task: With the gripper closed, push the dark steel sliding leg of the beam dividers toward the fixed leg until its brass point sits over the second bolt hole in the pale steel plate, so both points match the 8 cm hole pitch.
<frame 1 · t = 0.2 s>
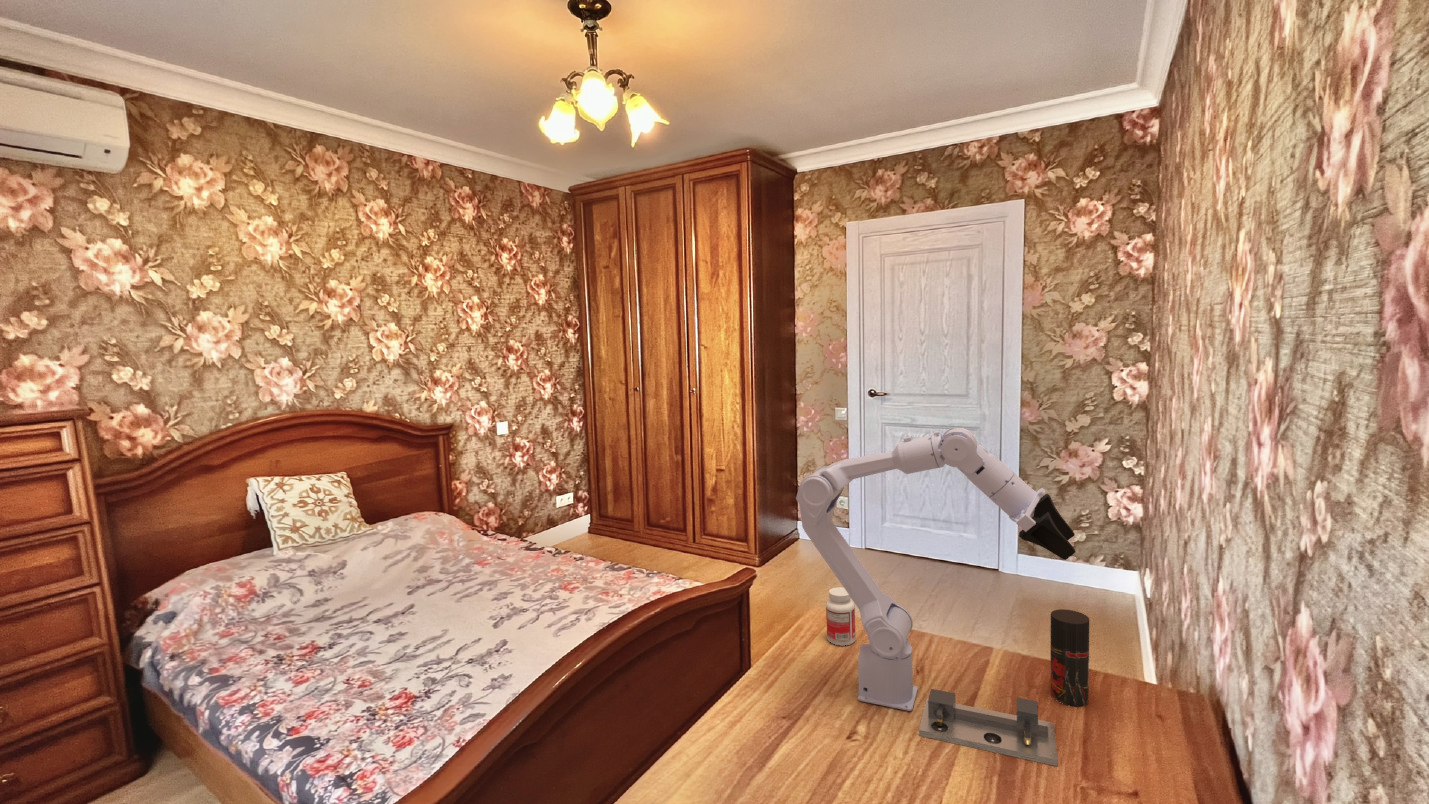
hand: (1070, 546, 98), 31 cm above the table, tool tilted 45°, fingers open, 7 cm apart
hole plate: (986, 732, 102), on the table
pill bottle: (841, 640, 136), on the table
sliding leg: (1027, 721, 99), point 3 cm above the table, slide at 0.0 cm
deodorant: (1069, 698, 111), on the table
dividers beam: (986, 728, 103), resting on hole plate
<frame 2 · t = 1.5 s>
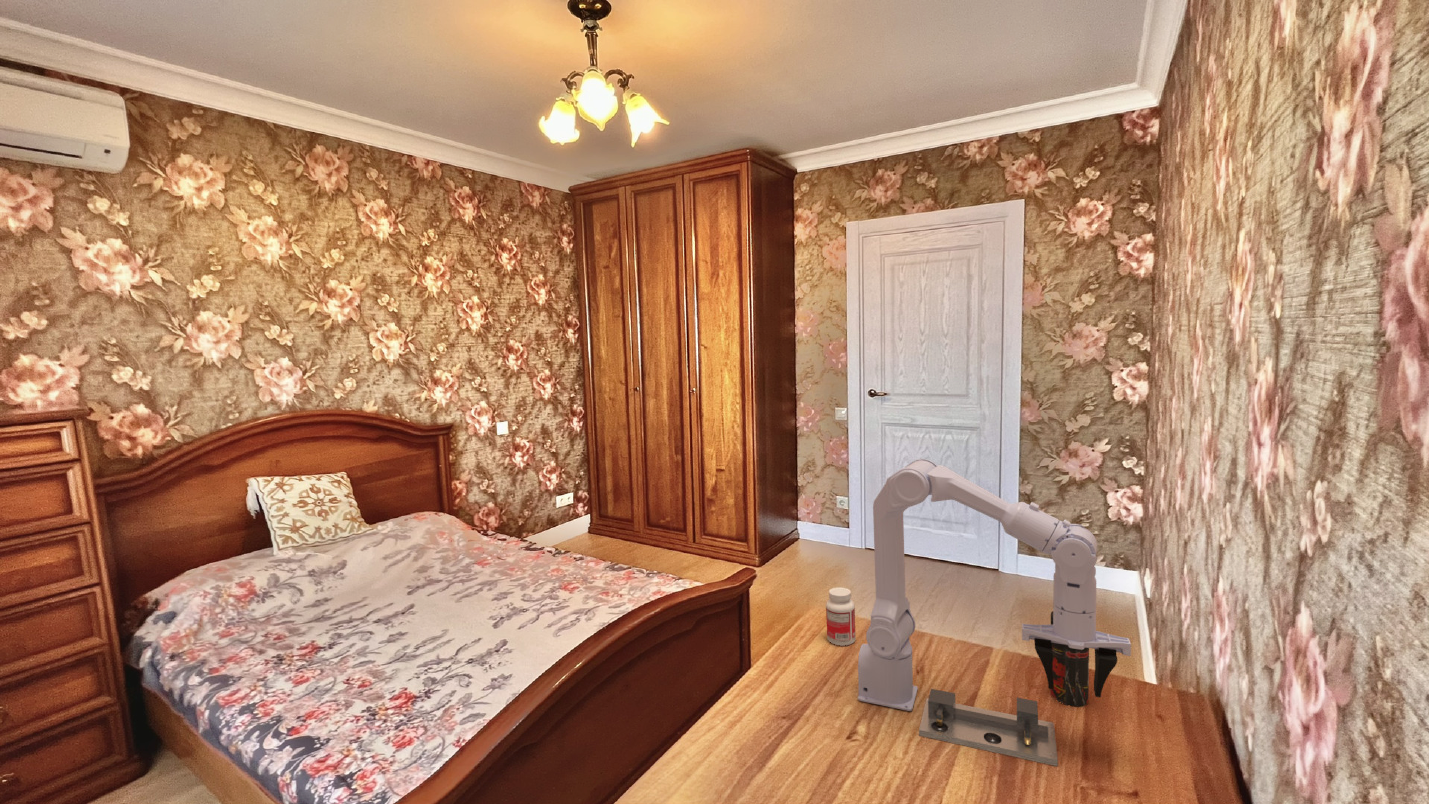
hand: (1073, 689, 97), 9 cm above the table, tool pointing down, fingers open, 6 cm apart
nothing on the table moved.
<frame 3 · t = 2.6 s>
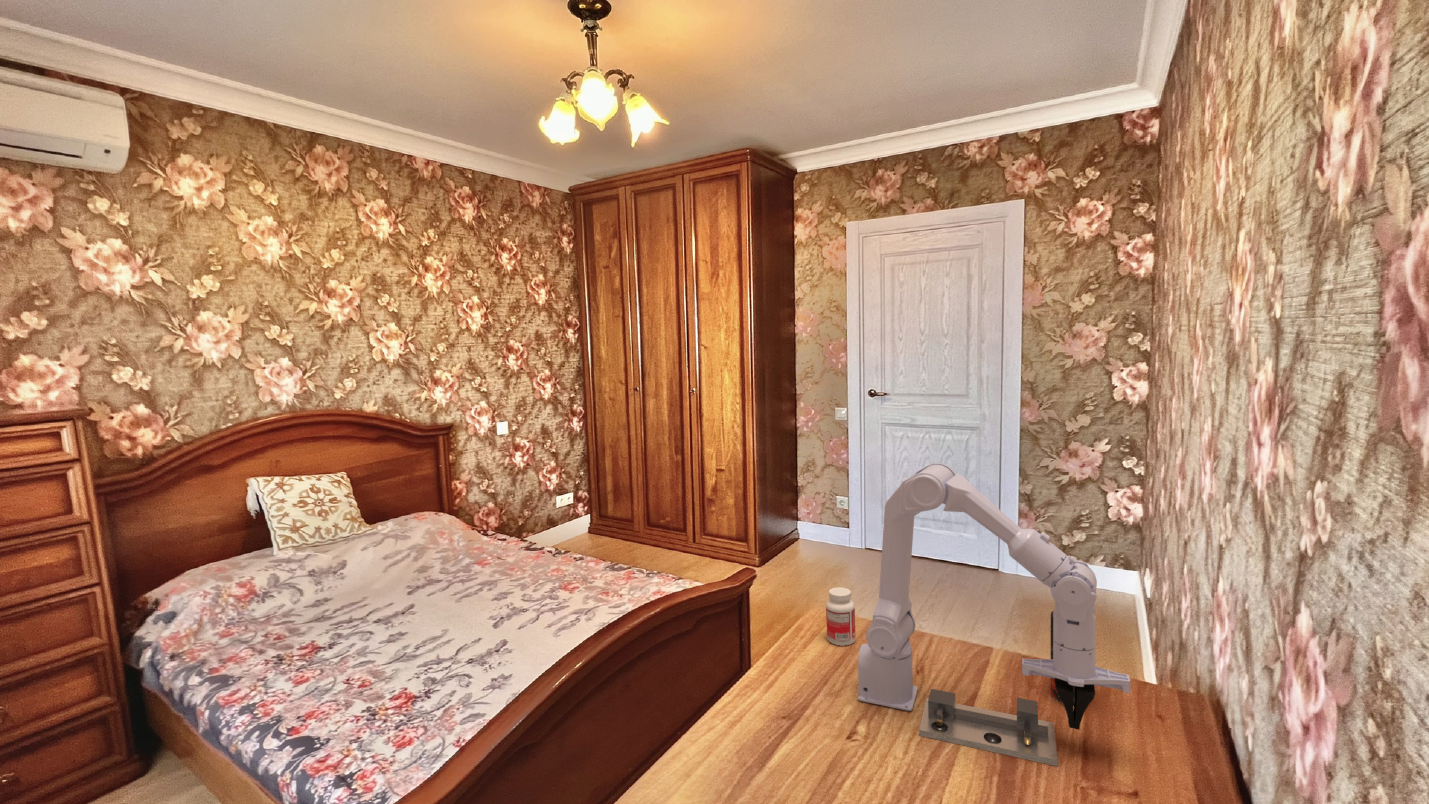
hand: (1073, 725, 97), 4 cm above the table, tool pointing down, fingers closed
nothing on the table moved.
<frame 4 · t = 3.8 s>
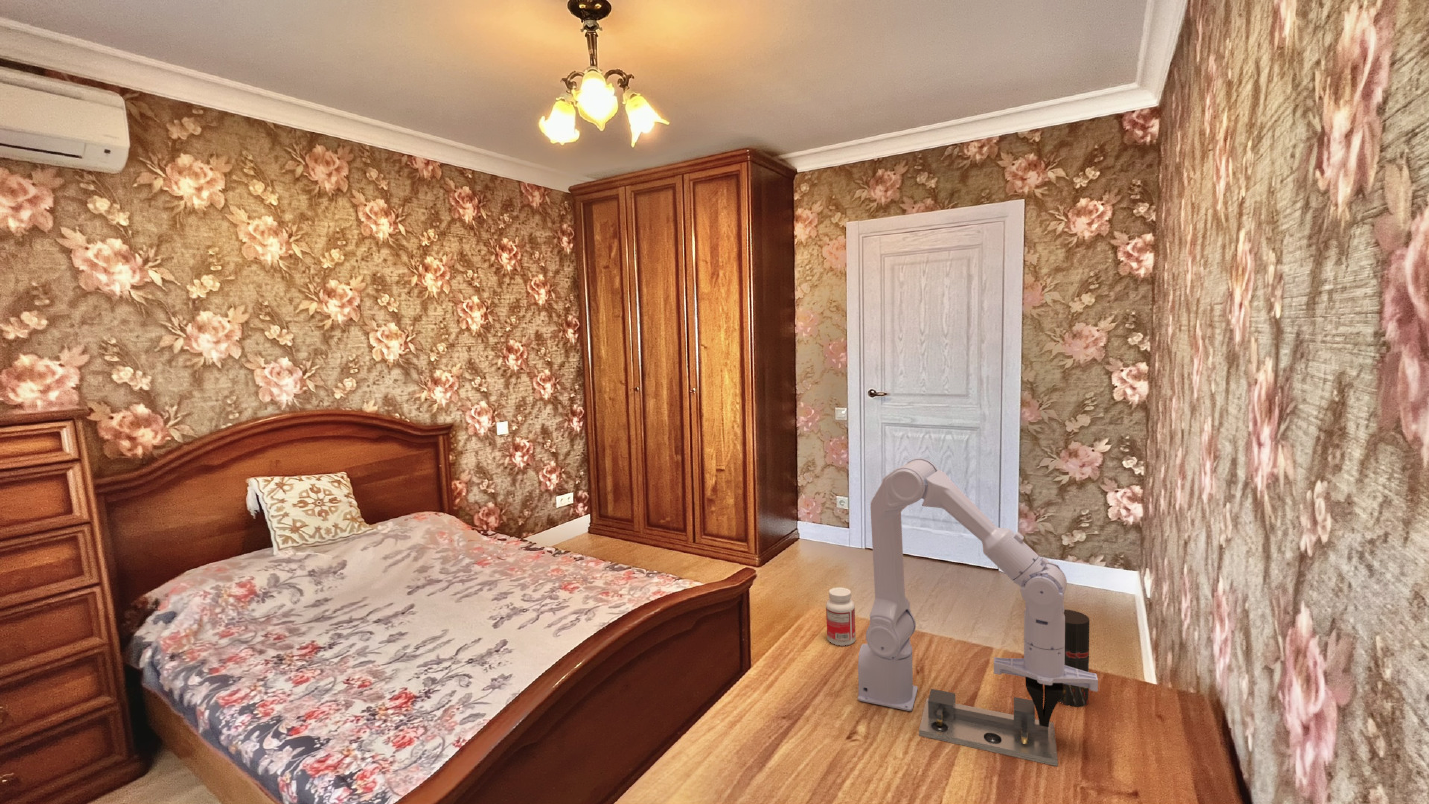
hand: (1043, 722, 99), 3 cm above the table, tool pointing down, fingers closed
sliding leg: (1024, 720, 99), point 3 cm above the table, slide at 0.5 cm, touching gripper
everything else where it was.
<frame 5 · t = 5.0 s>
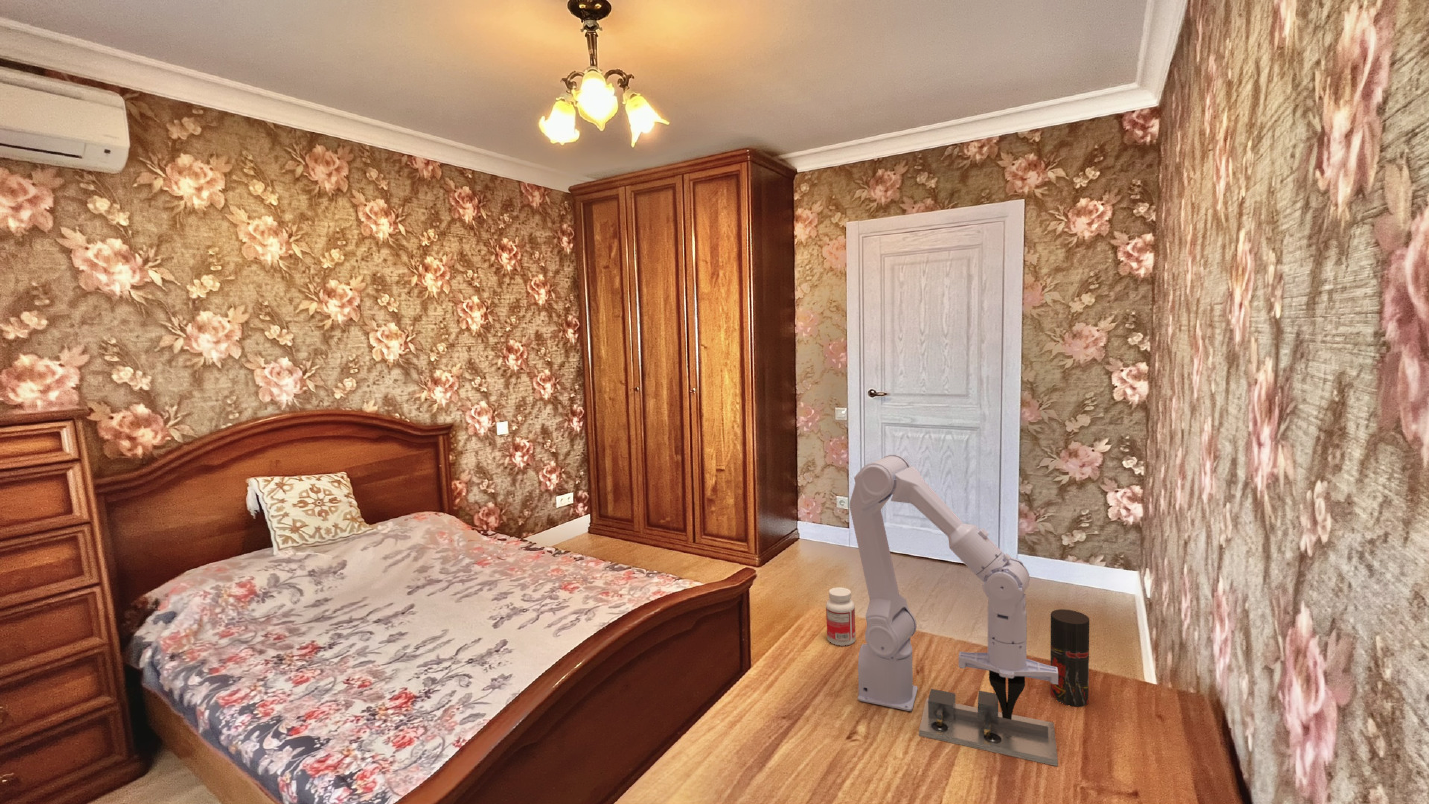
hand: (1006, 715, 102), 3 cm above the table, tool pointing down, fingers closed
sliding leg: (987, 713, 102), point 3 cm above the table, slide at 5.8 cm, touching gripper
everything else where it was.
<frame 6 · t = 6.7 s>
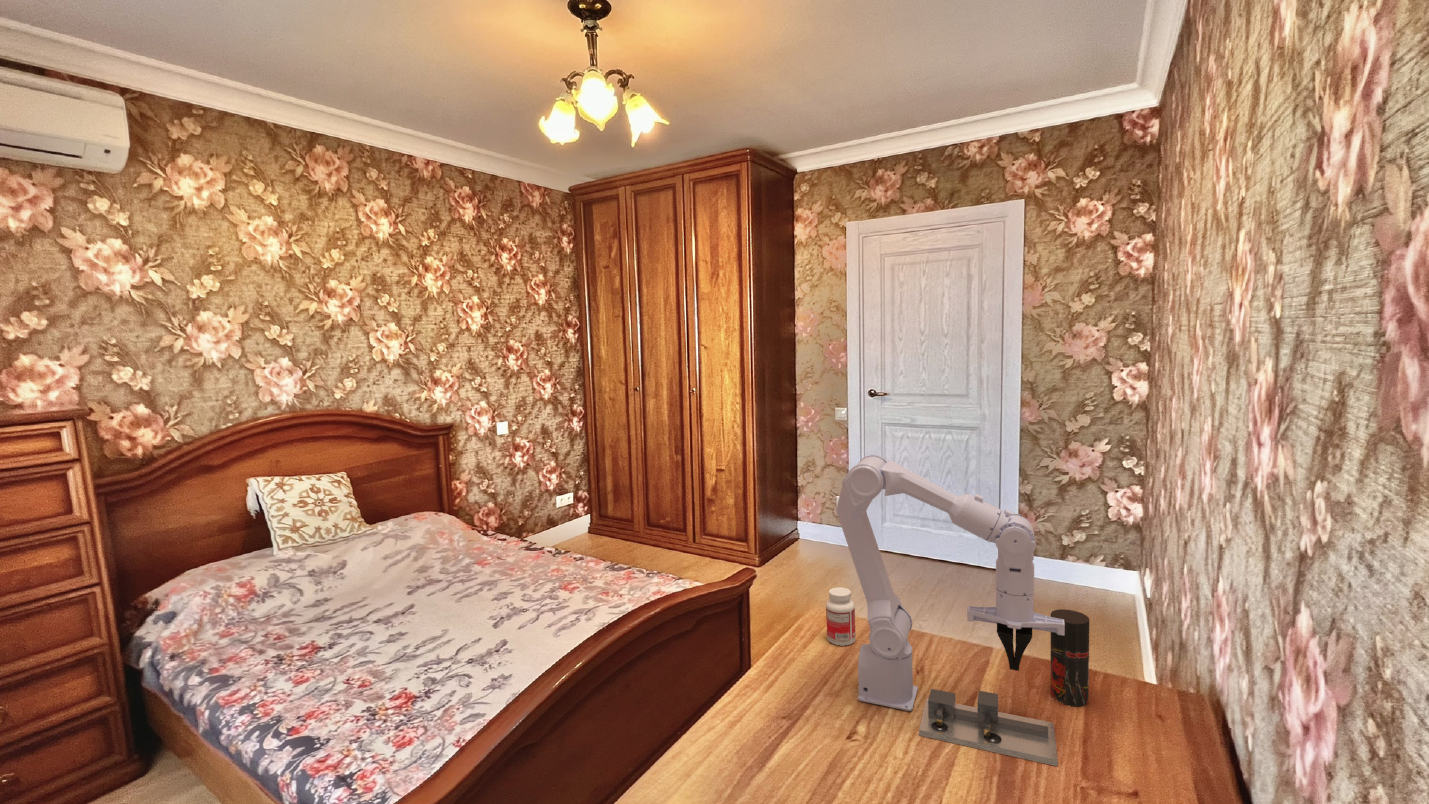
hand: (1014, 667, 104), 9 cm above the table, tool pointing down, fingers closed
sliding leg: (987, 713, 102), point 3 cm above the table, slide at 5.8 cm
everything else where it was.
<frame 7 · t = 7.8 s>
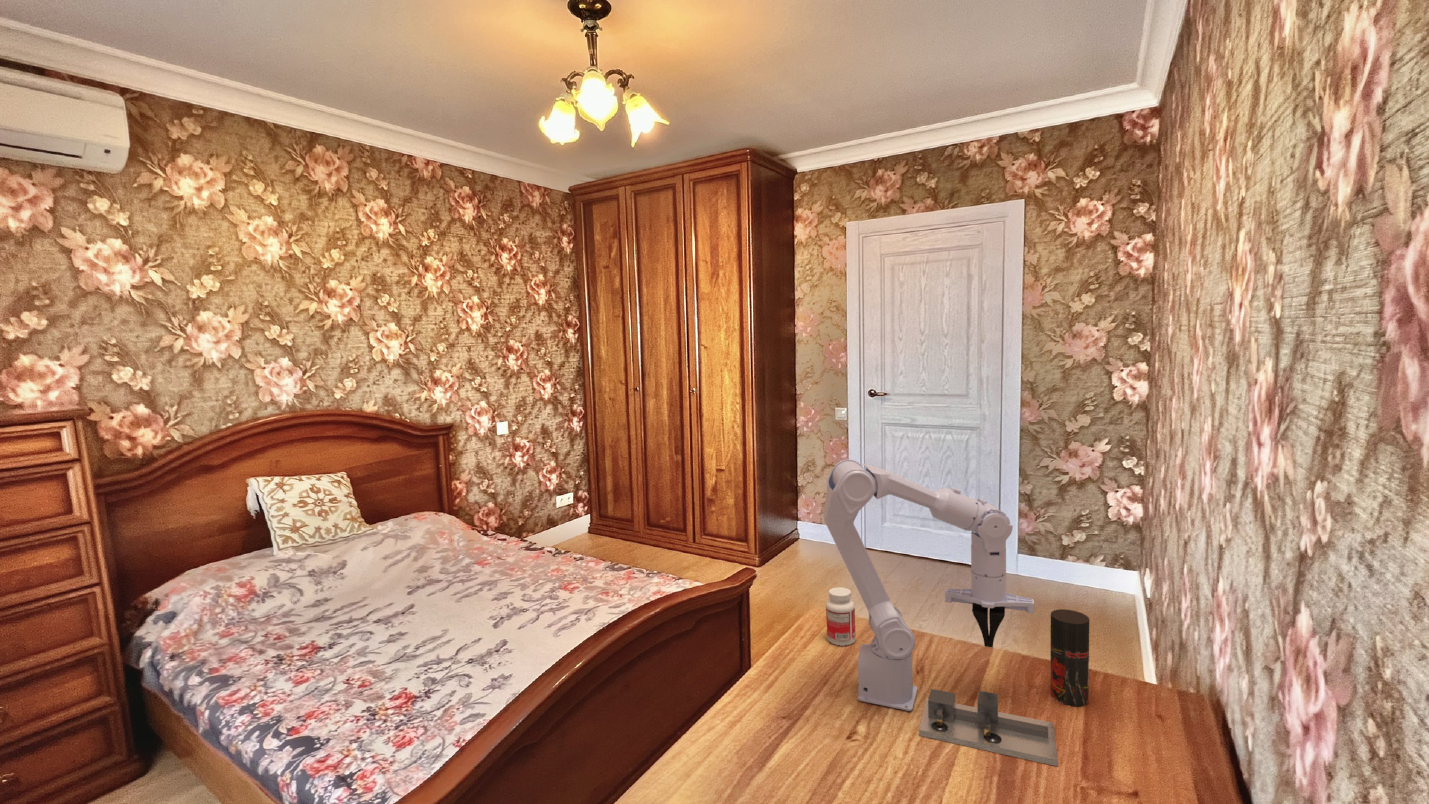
hand: (988, 644, 112), 9 cm above the table, tool pointing down, fingers closed
nothing on the table moved.
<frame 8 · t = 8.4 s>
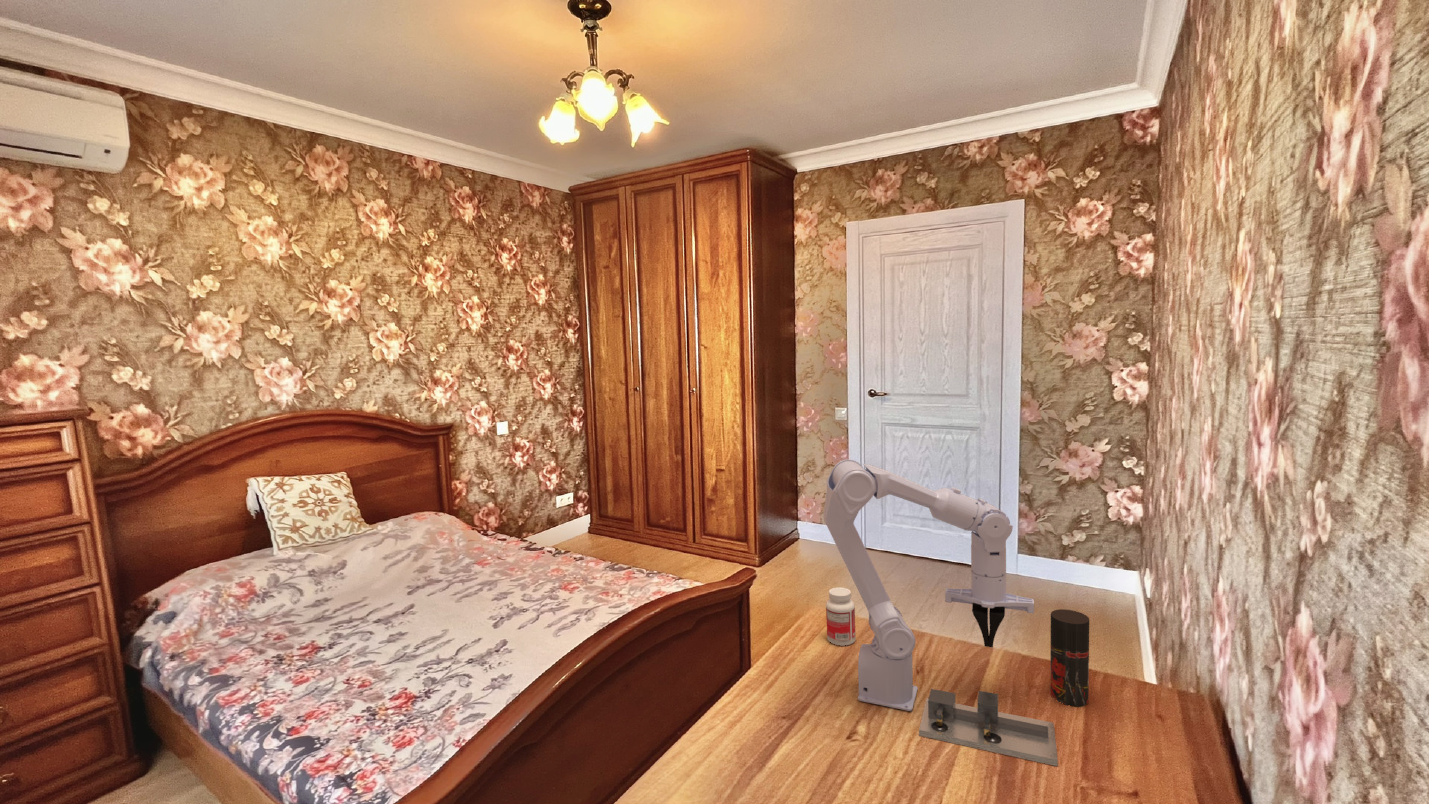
hand: (988, 644, 112), 9 cm above the table, tool pointing down, fingers closed
nothing on the table moved.
at the end: sliding leg slide at 5.8 cm; deodorant moved 0.2 cm from its start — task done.
